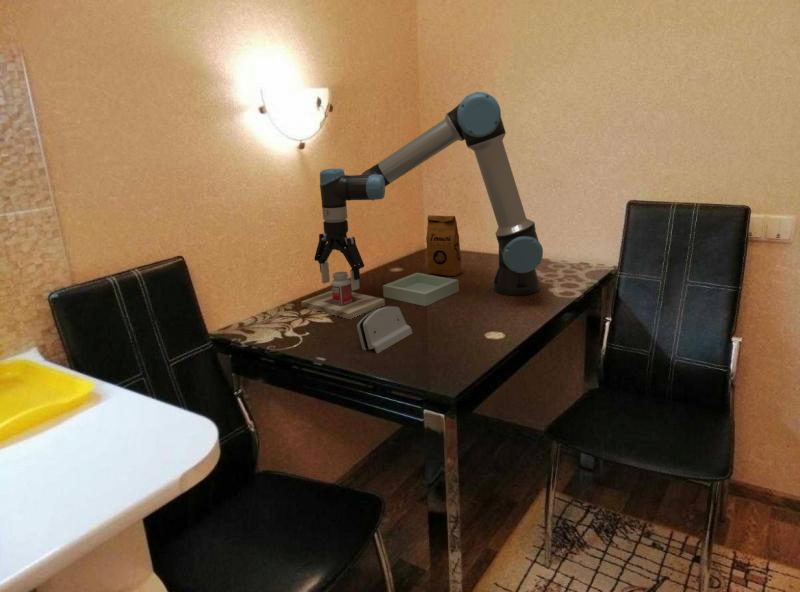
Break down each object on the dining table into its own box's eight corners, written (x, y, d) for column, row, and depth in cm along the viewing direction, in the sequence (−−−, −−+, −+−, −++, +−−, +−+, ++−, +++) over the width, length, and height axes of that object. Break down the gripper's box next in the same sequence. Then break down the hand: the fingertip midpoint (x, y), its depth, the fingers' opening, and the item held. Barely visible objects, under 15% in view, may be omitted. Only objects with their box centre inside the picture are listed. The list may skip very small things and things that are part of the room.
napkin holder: (377, 353, 153) (364, 317, 152) (364, 356, 156) (351, 320, 155) (413, 332, 165) (401, 299, 164) (400, 335, 168) (389, 302, 167)
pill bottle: (353, 302, 194) (350, 270, 190) (351, 309, 188) (348, 275, 184) (334, 303, 194) (331, 271, 190) (332, 309, 188) (329, 276, 185)
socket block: (384, 305, 189) (384, 299, 189) (349, 319, 178) (348, 313, 178) (337, 294, 203) (337, 288, 203) (301, 307, 192) (301, 301, 191)
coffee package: (455, 278, 213) (453, 218, 207) (424, 276, 219) (421, 217, 212) (465, 271, 222) (464, 213, 215) (435, 269, 227) (432, 212, 221)
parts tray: (458, 291, 199) (458, 279, 198) (425, 306, 186) (425, 294, 185) (417, 283, 210) (416, 272, 209) (383, 297, 198) (382, 285, 196)
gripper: (299, 218, 187) (305, 282, 194) (355, 226, 172) (360, 295, 178) (317, 214, 193) (322, 277, 199) (373, 221, 177) (377, 289, 183)
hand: (340, 285), depth 189 cm, fingers open, 13 cm apart
